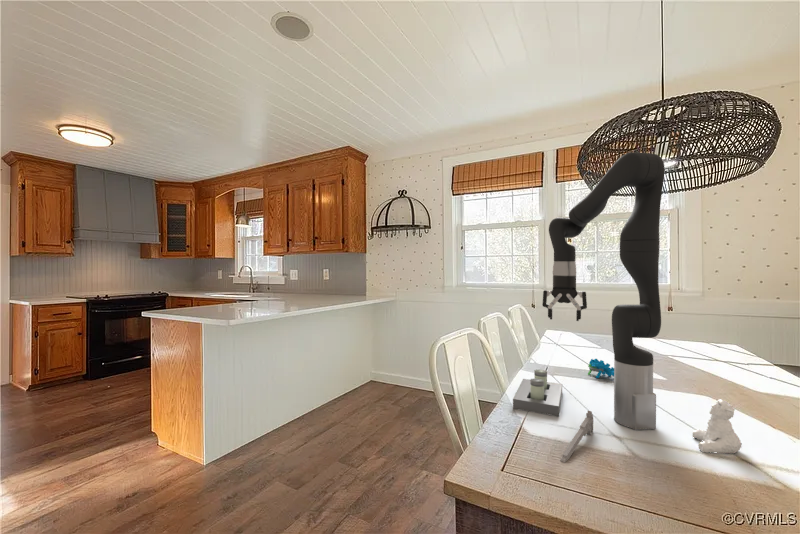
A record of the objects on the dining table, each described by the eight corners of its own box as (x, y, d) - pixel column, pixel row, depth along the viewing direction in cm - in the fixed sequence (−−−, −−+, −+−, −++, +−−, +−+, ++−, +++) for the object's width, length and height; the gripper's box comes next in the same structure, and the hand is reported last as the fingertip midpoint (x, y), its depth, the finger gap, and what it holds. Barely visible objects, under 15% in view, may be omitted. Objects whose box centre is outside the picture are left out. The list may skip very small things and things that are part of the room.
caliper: (589, 432, 96) (589, 408, 96) (593, 433, 95) (593, 409, 95) (560, 462, 82) (560, 434, 82) (565, 464, 81) (565, 436, 81)
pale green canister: (546, 408, 112) (546, 382, 111) (534, 408, 111) (534, 383, 111) (540, 402, 116) (540, 378, 115) (528, 403, 115) (528, 378, 115)
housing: (558, 416, 105) (558, 389, 105) (512, 408, 111) (512, 382, 111) (562, 392, 125) (562, 369, 125) (523, 386, 131) (523, 364, 131)
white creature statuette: (690, 435, 94) (690, 389, 94) (734, 443, 90) (734, 395, 89) (699, 452, 85) (700, 402, 85) (748, 461, 81) (749, 409, 81)
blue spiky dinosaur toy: (623, 375, 139) (607, 358, 137) (616, 388, 137) (600, 370, 135) (598, 371, 149) (583, 355, 148) (592, 383, 147) (576, 367, 146)
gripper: (586, 274, 128) (586, 319, 128) (543, 273, 134) (543, 317, 134) (587, 275, 121) (587, 323, 121) (542, 274, 127) (541, 320, 127)
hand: (564, 319), depth 128 cm, fingers open, 8 cm apart
